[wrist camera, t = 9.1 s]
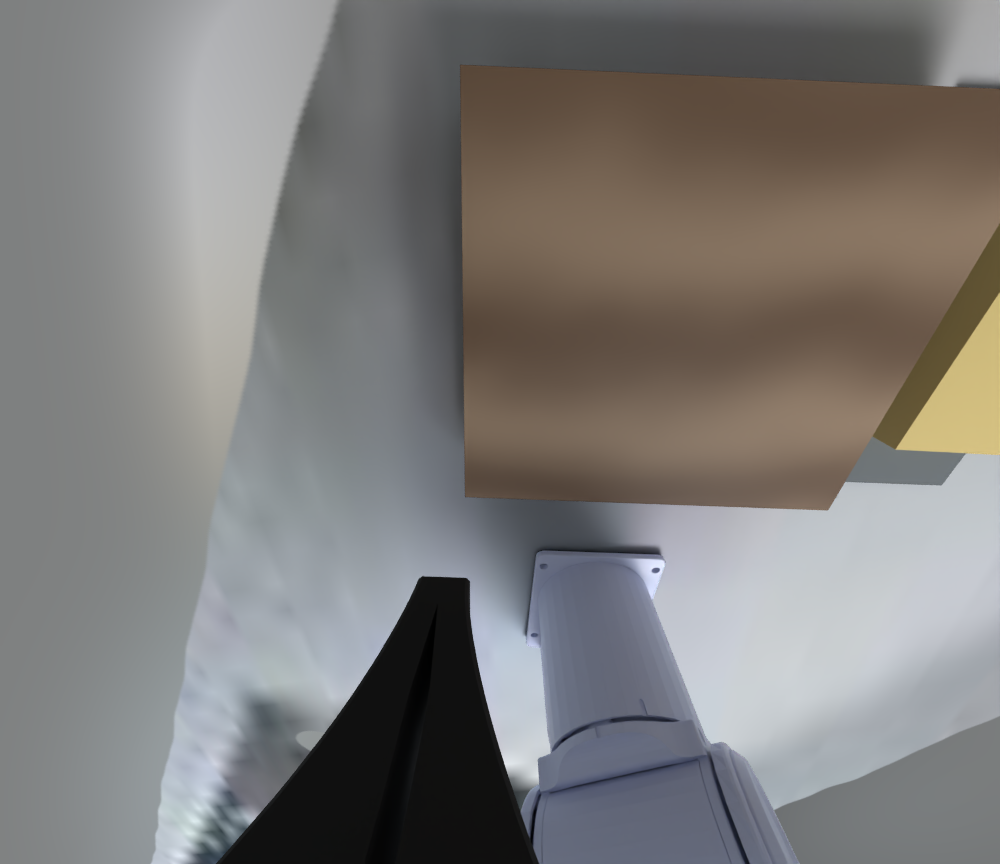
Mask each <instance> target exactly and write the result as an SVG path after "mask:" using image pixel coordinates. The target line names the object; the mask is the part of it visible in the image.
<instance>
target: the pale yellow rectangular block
mask: <svg viewBox="0 0 1000 864" xmlns="http://www.w3.org/2000/svg"><path fill="white" fill-rule="evenodd" d="M872 437H874V438H876V439H878V440H879V441H881V442H883V443H885V444H886V445H888V446H890V447H892V448H893V449H895V450H912V451H932V452H952V453H971V454H991V455H1000V224H999V225H998V227H997V229H996V230H995V232H994V234H993V235H992V237H991V239H990V240H989V242H988V244H987V245H986V247H985V249H984V250H983V252H982V254H981V255H980V257H979V259H978V260H977V262H976V264H975V265H974V267H973V269H972V270H971V272H970V274H969V275H968V277H967V279H966V280H965V282H964V284H963V285H962V287H961V289H960V291H959V292H958V294H957V296H956V297H955V299H954V301H953V302H952V304H951V306H950V307H949V309H948V311H947V312H946V314H945V316H944V317H943V319H942V321H941V322H940V324H939V326H938V327H937V329H936V331H935V332H934V334H933V336H932V337H931V339H930V341H929V342H928V344H927V346H926V347H925V349H924V351H923V352H922V354H921V356H920V357H919V359H918V361H917V362H916V364H915V366H914V367H913V369H912V371H911V372H910V374H909V376H908V377H907V379H906V381H905V382H904V384H903V386H902V387H901V389H900V391H899V392H898V394H897V396H896V397H895V399H894V401H893V403H892V404H891V406H890V408H889V409H888V411H887V413H886V414H885V416H884V418H883V419H882V421H881V423H880V424H879V426H878V428H877V429H876V431H875V433H874V434H873V436H872Z"/></svg>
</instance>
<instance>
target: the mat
mask: <svg viewBox="0 0 1000 864" xmlns="http://www.w3.org/2000/svg"><path fill="white" fill-rule="evenodd" d="M965 454H966V453H952V452H932V451H912V450H895V449H893V448H892V447H890V446H888V445H886V444H885V443H883V442H881V441H879V440H878V439H876V438H874V437H872V438H871V439H870V441H869V443H868V444H867V446H866V448H865V449H864V451H863V453H862V454H861V456H860V458H859V459H858V461H857V463H856V464H855V466H854V468H853V469H852V471H851V473H850V474H849V476H848V478H847V479H846V481H845V482H864V483H890V484H917V485H942V484H943V483H944V482H945V480H946V479H947V478H948V476H949V475H950V474H951V472H952V471H953V470H954V468H955V467H956V466H957V464H958V463H959V462H960V460H961V459H962V458H963V456H964V455H965Z"/></svg>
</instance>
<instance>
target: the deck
mask: <svg viewBox="0 0 1000 864" xmlns="http://www.w3.org/2000/svg"><path fill="white" fill-rule="evenodd" d="M460 93H461V182H462V271H463V360H464V449H465V497H477V498H505V499H532V500H559V501H587V502H614V503H642V504H669V505H696V506H724V507H751V508H778V509H806V510H828V509H829V508H830V506H831V504H832V503H833V501H834V499H835V498H836V496H837V494H838V493H839V491H840V489H841V488H842V486H843V484H844V483H845V481H846V479H847V478H848V476H849V474H850V473H851V471H852V469H853V468H854V466H855V464H856V463H857V461H858V459H859V458H860V456H861V454H862V453H863V451H864V449H865V448H866V446H867V444H868V443H869V441H870V439H871V438H872V436H873V434H874V433H875V431H876V429H877V428H878V426H879V424H880V423H881V421H882V419H883V418H884V416H885V414H886V413H887V411H888V409H889V408H890V406H891V404H892V403H893V401H894V399H895V397H896V396H897V394H898V392H899V391H900V389H901V387H902V386H903V384H904V382H905V381H906V379H907V377H908V376H909V374H910V372H911V371H912V369H913V367H914V366H915V364H916V362H917V361H918V359H919V357H920V356H921V354H922V352H923V351H924V349H925V347H926V346H927V344H928V342H929V341H930V339H931V337H932V336H933V334H934V332H935V331H936V329H937V327H938V326H939V324H940V322H941V321H942V319H943V317H944V316H945V314H946V312H947V311H948V309H949V307H950V306H951V304H952V302H953V301H954V299H955V297H956V296H957V294H958V292H959V291H960V289H961V287H962V285H963V284H964V282H965V280H966V279H967V277H968V275H969V274H970V272H971V270H972V269H973V267H974V265H975V264H976V262H977V260H978V259H979V257H980V255H981V254H982V252H983V250H984V249H985V247H986V245H987V244H988V242H989V240H990V239H991V237H992V235H993V234H994V232H995V230H996V229H997V227H998V225H999V224H1000V89H989V88H967V87H944V86H922V85H900V84H877V83H855V82H833V81H810V80H788V79H766V78H744V77H721V76H699V75H677V74H654V73H632V72H610V71H587V70H565V69H543V68H520V67H498V66H476V65H460Z"/></svg>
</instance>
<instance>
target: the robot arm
mask: <svg viewBox="0 0 1000 864" xmlns="http://www.w3.org/2000/svg"><path fill="white" fill-rule="evenodd" d="M665 563H666V562H665V560H664V558H663V556H661V555H654V554H626V553H598V552H570V551H540V552H538V553H537V555H536V559H535V568H534V576H533V585H532V594H531V602H530V611H529V619H528V628H527V637H526V643H527V645H528V646H530V647H539V648H541V659H542V671H543V683H544V695H545V707H546V719H547V731H548V737H549V742H550V750H551V754H548V755H546V756H543V757H540V758H539V759H538V771H539V785H537V786H535V787H534V788H532V789H531V790H530V792H529V793H528V794H527V796H526V798H525V801H524V803H523V806H522V810H521V812H520V809H519V806H518V804H517V801H516V798H515V795H514V792H513V789H512V786H511V783H510V780H509V777H508V774H507V771H506V768H505V765H504V761H503V758H502V755H501V752H500V749H499V745H498V742H497V738H496V735H495V731H494V728H493V725H492V721H491V717H490V714H489V710H488V706H487V702H486V698H485V694H484V690H483V685H482V681H481V677H480V672H479V668H478V663H477V657H476V652H475V646H474V641H473V635H472V628H471V619H470V581H469V580H468V579H467V578H452V577H424V576H422V577H421V578H420V579H419V580H418V582H417V584H416V587H415V589H414V591H413V593H412V595H411V597H410V599H409V601H408V603H407V605H406V607H405V609H404V611H403V613H402V615H401V617H400V618H399V620H398V622H397V624H396V626H395V627H394V629H393V631H392V633H391V634H390V636H389V638H388V639H387V641H386V643H385V644H384V646H383V648H382V650H381V651H380V653H379V655H378V656H377V658H376V659H375V661H374V663H373V664H372V666H371V667H370V669H369V670H368V672H367V673H366V675H365V676H364V678H363V679H362V681H361V682H360V684H359V686H358V687H357V689H356V690H355V692H354V693H353V695H352V696H351V697H350V699H349V700H348V702H347V703H346V705H345V706H344V707H343V709H342V710H341V712H340V713H339V714H338V716H337V717H336V719H335V720H334V721H333V723H332V724H331V725H330V727H329V728H328V729H327V731H326V732H325V734H324V735H323V736H322V738H321V739H320V740H319V742H318V743H317V744H316V746H315V747H314V748H313V749H312V750H311V752H310V753H309V754H308V756H307V757H306V758H305V759H304V761H303V762H302V763H301V765H300V766H299V767H298V768H297V770H296V771H295V772H294V773H293V775H292V776H291V777H290V778H289V780H288V781H287V782H286V783H285V785H284V786H283V787H282V788H281V789H280V791H279V792H278V793H277V794H276V795H275V797H274V798H273V799H272V800H271V801H270V802H269V804H268V805H267V806H266V807H265V808H264V809H263V811H262V812H261V813H260V814H259V815H258V816H257V817H256V819H255V820H254V821H253V822H252V823H251V824H250V826H249V827H248V828H247V829H246V830H245V831H244V833H243V834H242V835H241V836H240V837H239V838H238V839H237V841H236V842H235V843H234V844H233V845H232V846H231V848H230V849H229V850H228V851H227V852H226V853H225V854H224V855H223V857H222V858H221V859H220V860H219V861H218V862H217V863H216V864H799V862H798V860H797V858H796V855H795V854H794V851H793V849H792V847H791V845H790V843H789V841H788V839H787V836H786V834H785V832H784V830H783V828H782V826H781V824H780V822H779V820H778V818H777V816H776V814H775V812H774V810H773V808H772V806H771V804H770V802H769V800H768V798H767V796H766V794H765V792H764V790H763V788H762V786H761V784H760V782H759V780H758V778H757V777H756V775H755V773H754V771H753V769H752V768H751V766H750V764H749V763H748V761H747V760H746V759H745V758H744V757H743V756H741V755H740V754H738V753H737V752H735V751H734V750H731V748H730V747H729V746H728V745H727V744H726V743H723V742H719V743H715V744H711V743H710V742H709V741H708V739H707V738H706V736H705V734H704V732H703V729H702V726H701V724H700V721H699V719H698V716H697V714H696V711H695V709H694V706H693V704H692V701H691V698H690V696H689V693H688V691H687V688H686V686H685V683H684V681H683V678H682V676H681V673H680V670H679V668H678V665H677V663H676V660H675V658H674V655H673V653H672V650H671V648H670V645H669V642H668V640H667V637H666V635H665V632H664V630H663V627H662V625H661V622H660V620H659V617H658V614H657V612H656V609H655V607H654V604H653V602H652V600H653V598H654V595H655V592H656V589H657V586H658V584H659V581H660V578H661V575H662V572H663V570H664V567H665Z"/></svg>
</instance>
